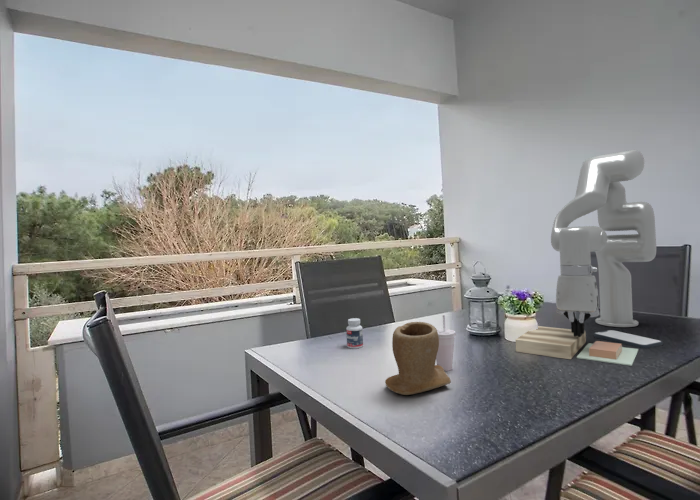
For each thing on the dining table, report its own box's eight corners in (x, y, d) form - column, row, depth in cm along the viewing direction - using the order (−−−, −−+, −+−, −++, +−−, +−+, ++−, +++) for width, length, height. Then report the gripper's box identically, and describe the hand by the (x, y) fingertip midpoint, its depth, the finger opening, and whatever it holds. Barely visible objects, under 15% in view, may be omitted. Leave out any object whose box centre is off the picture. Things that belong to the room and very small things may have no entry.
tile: (621, 343, 106) (621, 351, 107) (596, 340, 111) (596, 347, 111) (615, 351, 100) (616, 359, 100) (589, 348, 104) (589, 355, 104)
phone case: (665, 346, 112) (611, 334, 127) (665, 341, 111) (611, 329, 126) (644, 351, 108) (591, 337, 123) (644, 345, 108) (591, 332, 123)
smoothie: (443, 374, 96) (440, 318, 96) (427, 367, 102) (424, 314, 102) (462, 369, 99) (460, 315, 99) (445, 363, 105) (443, 311, 105)
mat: (588, 344, 116) (588, 343, 115) (638, 350, 108) (638, 348, 108) (576, 358, 103) (576, 356, 103) (631, 365, 96) (631, 364, 96)
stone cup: (405, 405, 80) (402, 333, 79) (379, 386, 91) (376, 322, 90) (465, 391, 85) (462, 323, 85) (434, 375, 96) (431, 315, 96)
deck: (536, 336, 127) (536, 325, 127) (585, 342, 118) (585, 330, 118) (515, 351, 112) (515, 339, 112) (570, 359, 103) (570, 346, 103)
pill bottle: (344, 348, 125) (343, 320, 124) (350, 344, 129) (349, 317, 129) (360, 349, 123) (358, 321, 122) (365, 344, 127) (364, 318, 127)
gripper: (609, 270, 108) (611, 336, 108) (550, 269, 117) (552, 330, 118) (604, 272, 102) (607, 342, 102) (543, 272, 112) (545, 335, 112)
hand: (578, 335), depth 110 cm, fingers closed
